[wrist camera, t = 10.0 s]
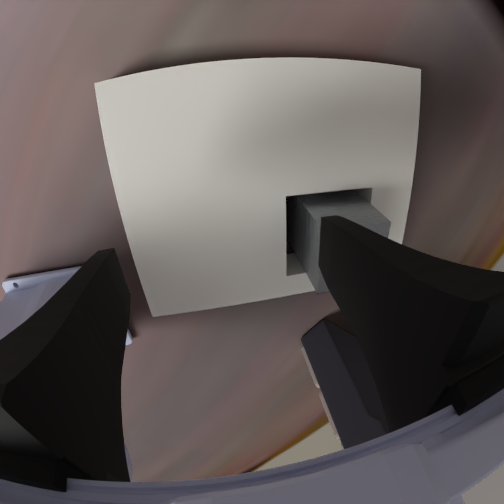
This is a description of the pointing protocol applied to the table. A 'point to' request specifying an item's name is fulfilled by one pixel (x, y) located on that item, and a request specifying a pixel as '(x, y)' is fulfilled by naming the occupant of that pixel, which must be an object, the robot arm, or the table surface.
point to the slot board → (249, 166)
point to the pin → (309, 222)
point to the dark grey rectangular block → (344, 384)
